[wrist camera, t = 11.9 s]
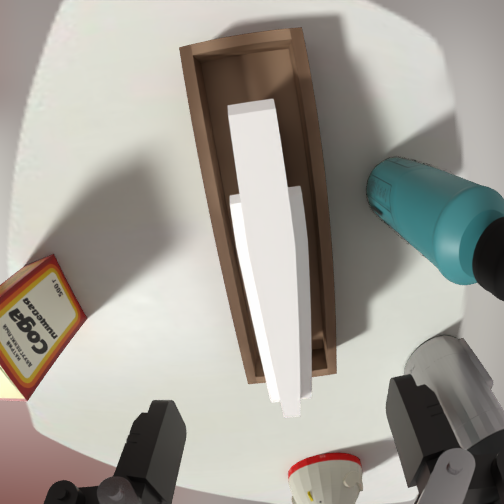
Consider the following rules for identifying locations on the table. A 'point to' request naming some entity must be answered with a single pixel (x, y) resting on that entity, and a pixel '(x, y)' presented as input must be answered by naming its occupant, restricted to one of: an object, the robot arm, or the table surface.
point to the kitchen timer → (326, 479)
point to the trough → (295, 161)
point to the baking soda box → (34, 325)
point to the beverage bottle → (443, 220)
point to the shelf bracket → (272, 253)
